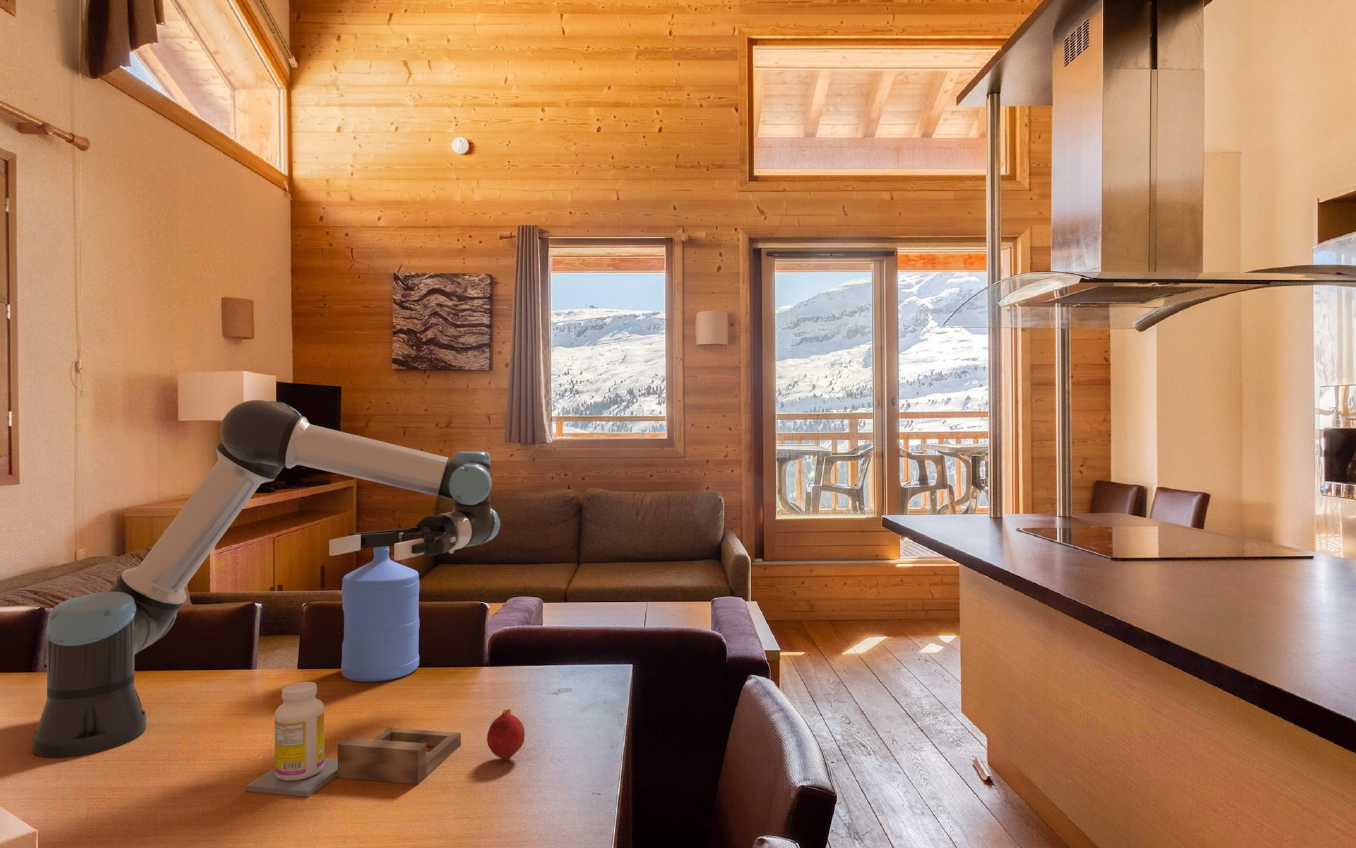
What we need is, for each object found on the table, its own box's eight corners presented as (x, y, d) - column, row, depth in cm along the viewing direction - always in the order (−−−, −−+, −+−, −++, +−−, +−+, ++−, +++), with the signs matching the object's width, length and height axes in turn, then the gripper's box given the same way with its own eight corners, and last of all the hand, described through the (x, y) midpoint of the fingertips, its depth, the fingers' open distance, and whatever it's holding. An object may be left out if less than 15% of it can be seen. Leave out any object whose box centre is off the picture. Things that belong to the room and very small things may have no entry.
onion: (515, 769, 115) (515, 717, 115) (480, 766, 116) (480, 714, 116) (530, 753, 121) (530, 704, 121) (497, 750, 122) (497, 701, 122)
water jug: (434, 667, 164) (435, 539, 164) (371, 688, 151) (372, 549, 151) (388, 656, 172) (389, 534, 173) (325, 675, 159) (326, 543, 159)
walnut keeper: (337, 777, 112) (337, 744, 112) (388, 739, 126) (388, 709, 126) (418, 784, 110) (418, 750, 110) (460, 745, 124) (461, 714, 124)
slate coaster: (245, 791, 108) (245, 785, 108) (292, 761, 118) (292, 755, 118) (308, 797, 106) (308, 791, 106) (350, 765, 116) (350, 760, 116)
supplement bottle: (311, 758, 117) (312, 676, 117) (332, 770, 113) (332, 685, 113) (266, 774, 112) (266, 687, 112) (286, 787, 107) (286, 698, 107)
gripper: (497, 556, 142) (424, 577, 122) (390, 549, 150) (305, 567, 130) (497, 516, 142) (424, 531, 122) (390, 511, 150) (305, 524, 130)
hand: (362, 549), depth 126 cm, fingers open, 13 cm apart
